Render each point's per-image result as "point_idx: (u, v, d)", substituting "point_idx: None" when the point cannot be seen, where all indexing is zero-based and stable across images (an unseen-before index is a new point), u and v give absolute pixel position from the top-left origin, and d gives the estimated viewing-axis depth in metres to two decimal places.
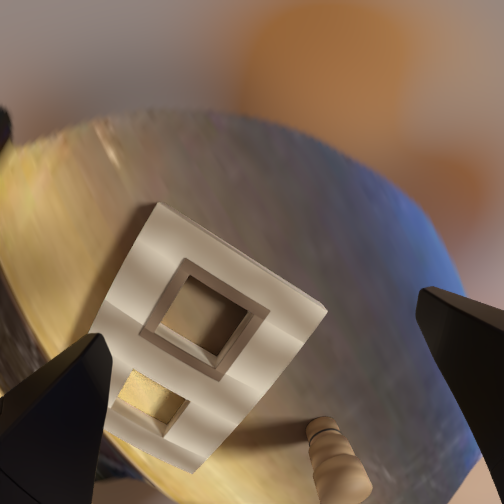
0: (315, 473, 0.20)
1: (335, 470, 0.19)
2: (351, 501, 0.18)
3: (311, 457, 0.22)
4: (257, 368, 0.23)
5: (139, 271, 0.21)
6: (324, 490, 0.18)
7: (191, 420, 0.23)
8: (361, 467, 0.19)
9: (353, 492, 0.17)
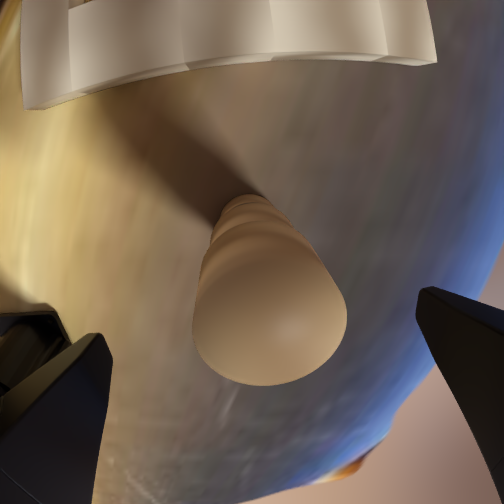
0: (232, 230, 0.10)
1: (298, 243, 0.09)
2: (256, 361, 0.08)
3: (228, 219, 0.12)
4: (310, 14, 0.11)
5: None
6: (252, 256, 0.08)
7: (139, 3, 0.10)
8: None
9: (294, 332, 0.08)
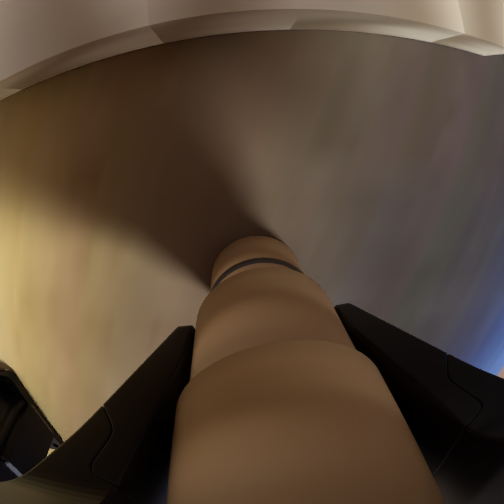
0: (233, 368, 0.04)
1: (376, 413, 0.03)
2: None
3: (224, 304, 0.07)
4: None
5: None
6: None
7: None
8: None
9: None
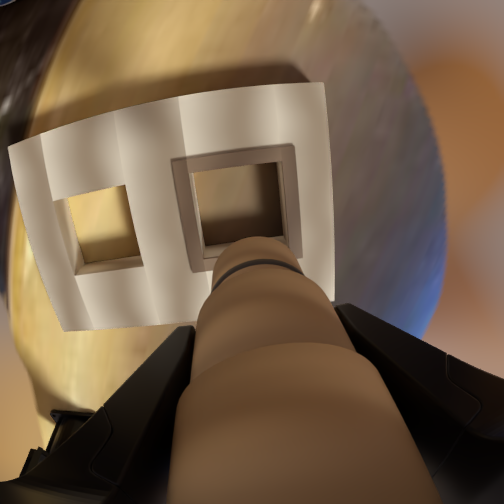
0: (233, 371, 0.04)
1: (376, 416, 0.03)
2: None
3: (224, 306, 0.07)
4: None
5: (242, 110, 0.16)
6: None
7: (123, 283, 0.20)
8: None
9: None
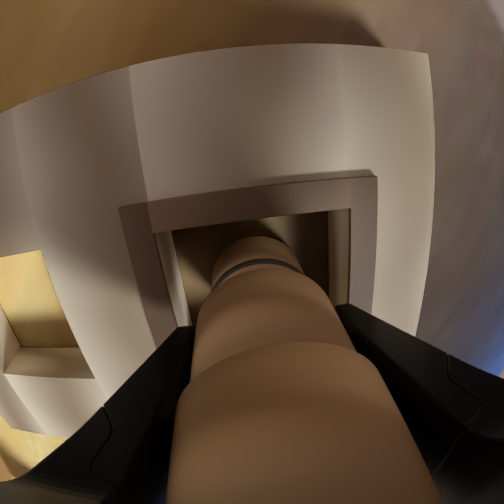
0: (233, 370, 0.04)
1: (376, 416, 0.03)
2: None
3: (224, 305, 0.07)
4: None
5: (269, 94, 0.07)
6: None
7: (70, 394, 0.10)
8: None
9: None
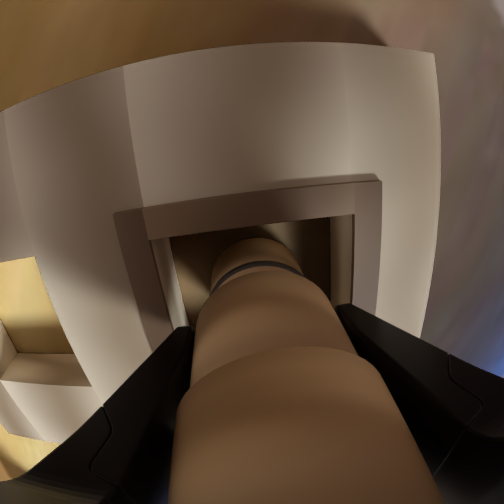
0: (234, 376, 0.04)
1: (380, 421, 0.03)
2: None
3: (224, 309, 0.06)
4: None
5: (270, 94, 0.07)
6: None
7: (67, 402, 0.10)
8: None
9: None
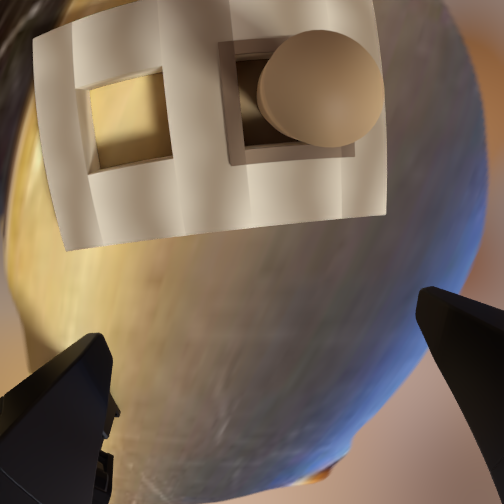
0: None
1: None
2: (316, 116, 0.09)
3: None
4: (280, 192, 0.17)
5: (292, 2, 0.13)
6: (311, 32, 0.08)
7: (146, 181, 0.17)
8: None
9: (345, 90, 0.09)
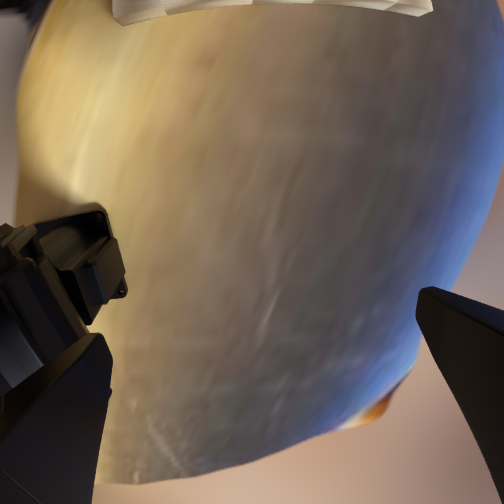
0: None
1: None
2: None
3: None
4: None
5: None
6: None
7: None
8: None
9: None
